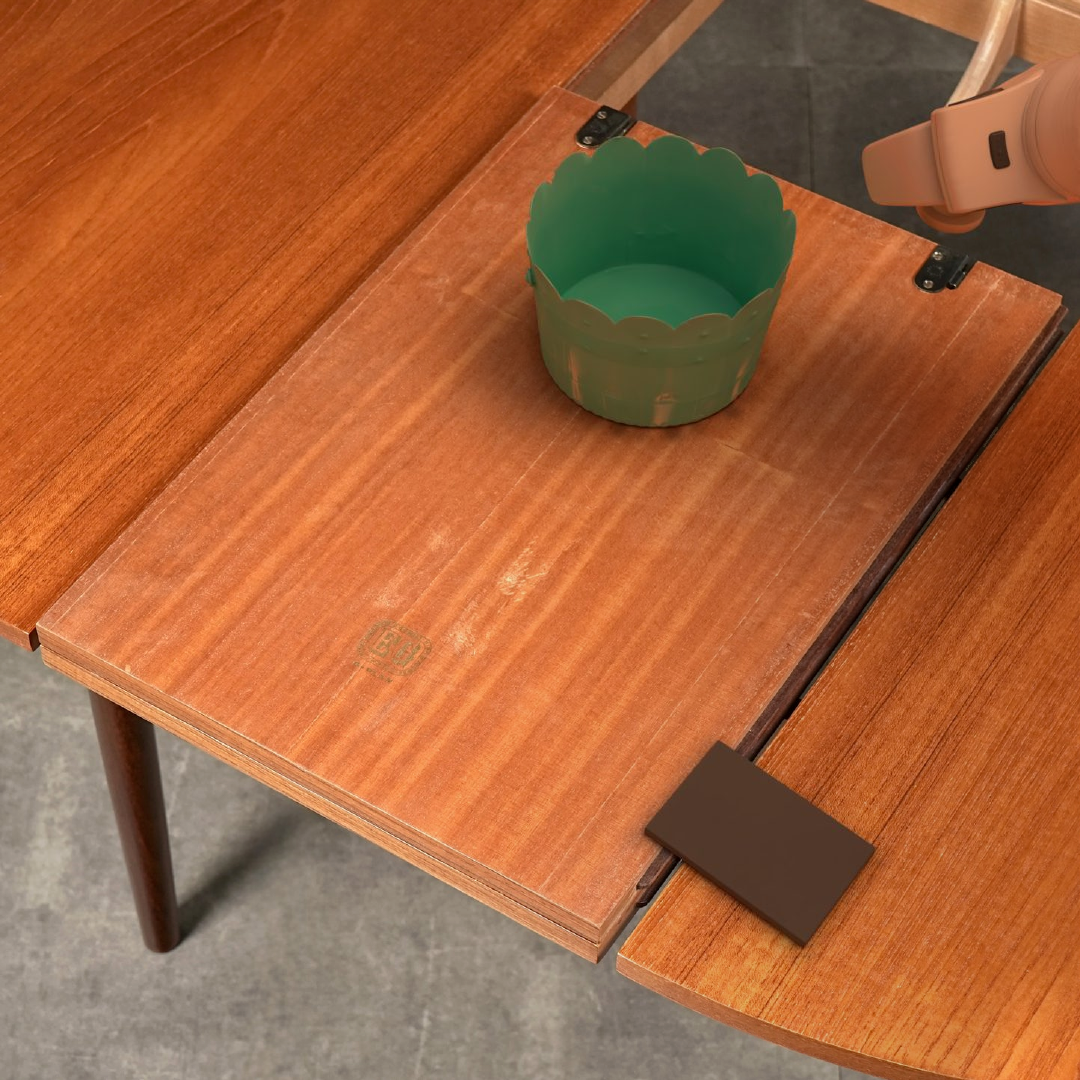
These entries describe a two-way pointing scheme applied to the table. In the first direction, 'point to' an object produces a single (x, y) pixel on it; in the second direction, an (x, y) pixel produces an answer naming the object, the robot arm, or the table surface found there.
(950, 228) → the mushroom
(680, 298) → the basket
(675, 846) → the front mat
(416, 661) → the table surface
